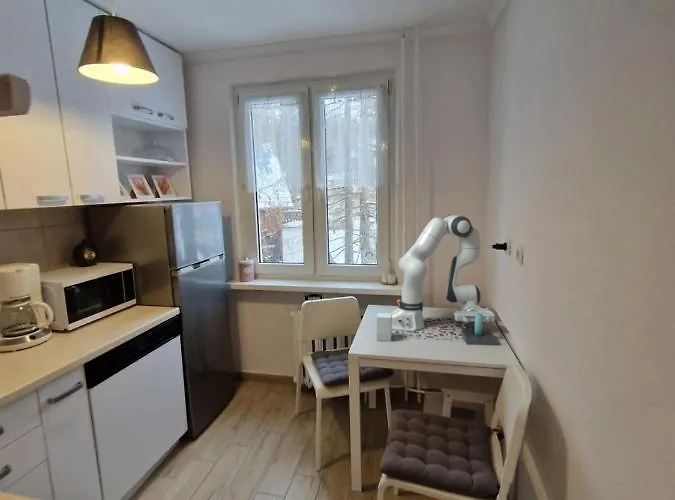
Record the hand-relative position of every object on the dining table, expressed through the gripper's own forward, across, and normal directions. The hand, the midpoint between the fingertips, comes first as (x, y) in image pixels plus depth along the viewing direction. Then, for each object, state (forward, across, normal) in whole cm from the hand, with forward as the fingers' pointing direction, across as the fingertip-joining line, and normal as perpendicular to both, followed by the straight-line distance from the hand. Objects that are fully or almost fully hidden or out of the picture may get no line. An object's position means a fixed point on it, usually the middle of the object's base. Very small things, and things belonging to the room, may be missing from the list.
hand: (477, 321), depth 191 cm
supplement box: (+6, -47, +9) cm, 48 cm away
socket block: (+2, 0, +8) cm, 9 cm away
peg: (+2, 0, +8) cm, 9 cm away
